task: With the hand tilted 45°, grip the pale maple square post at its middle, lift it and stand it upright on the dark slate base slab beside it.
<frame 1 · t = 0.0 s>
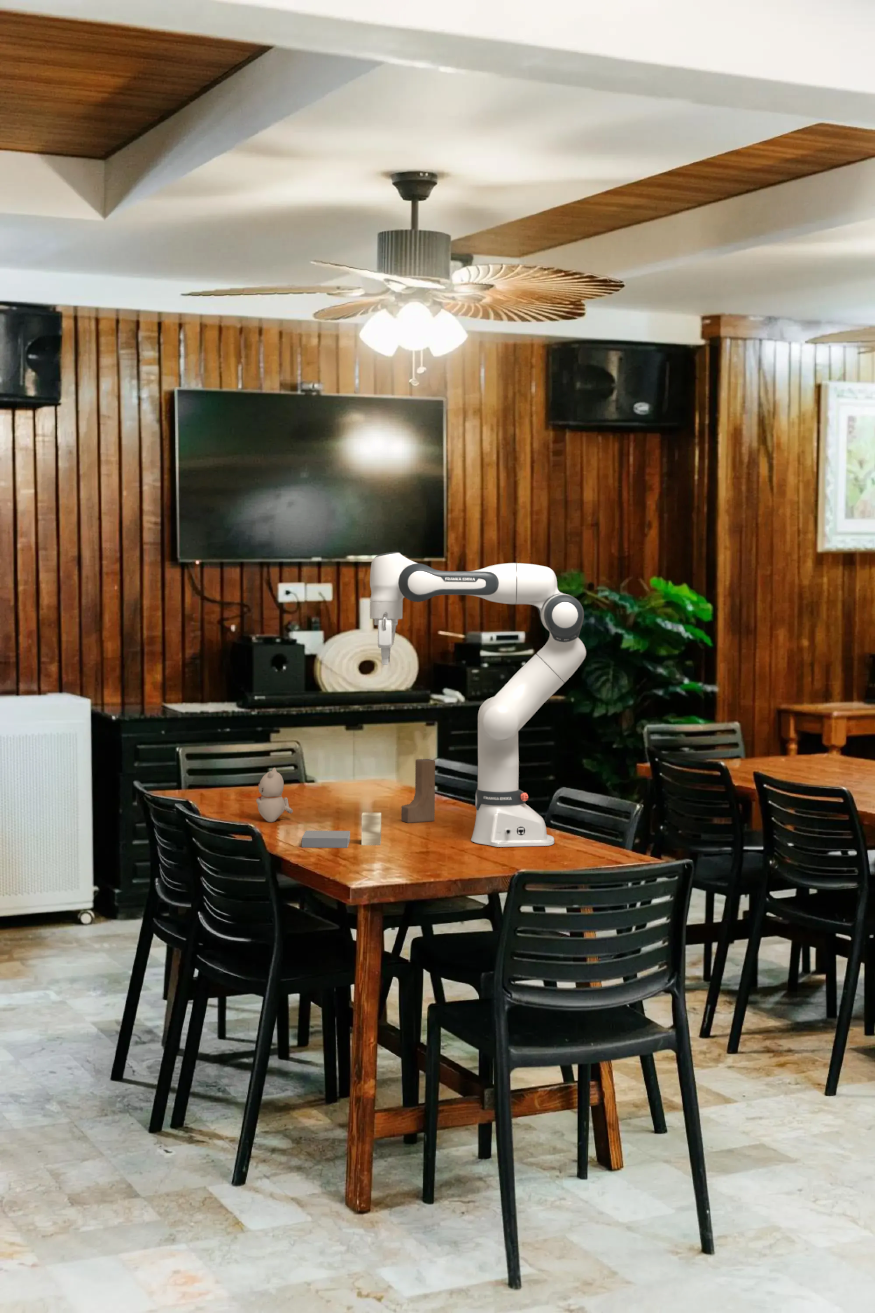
hand: (385, 663, 413), 48 cm above the table, tool pointing down, fingers open, 8 cm apart
maple post: (371, 843, 411), on the table
wooden block: (417, 821, 450), on the table
toy: (274, 820, 450), on the table
base slab: (326, 843, 410), on the table
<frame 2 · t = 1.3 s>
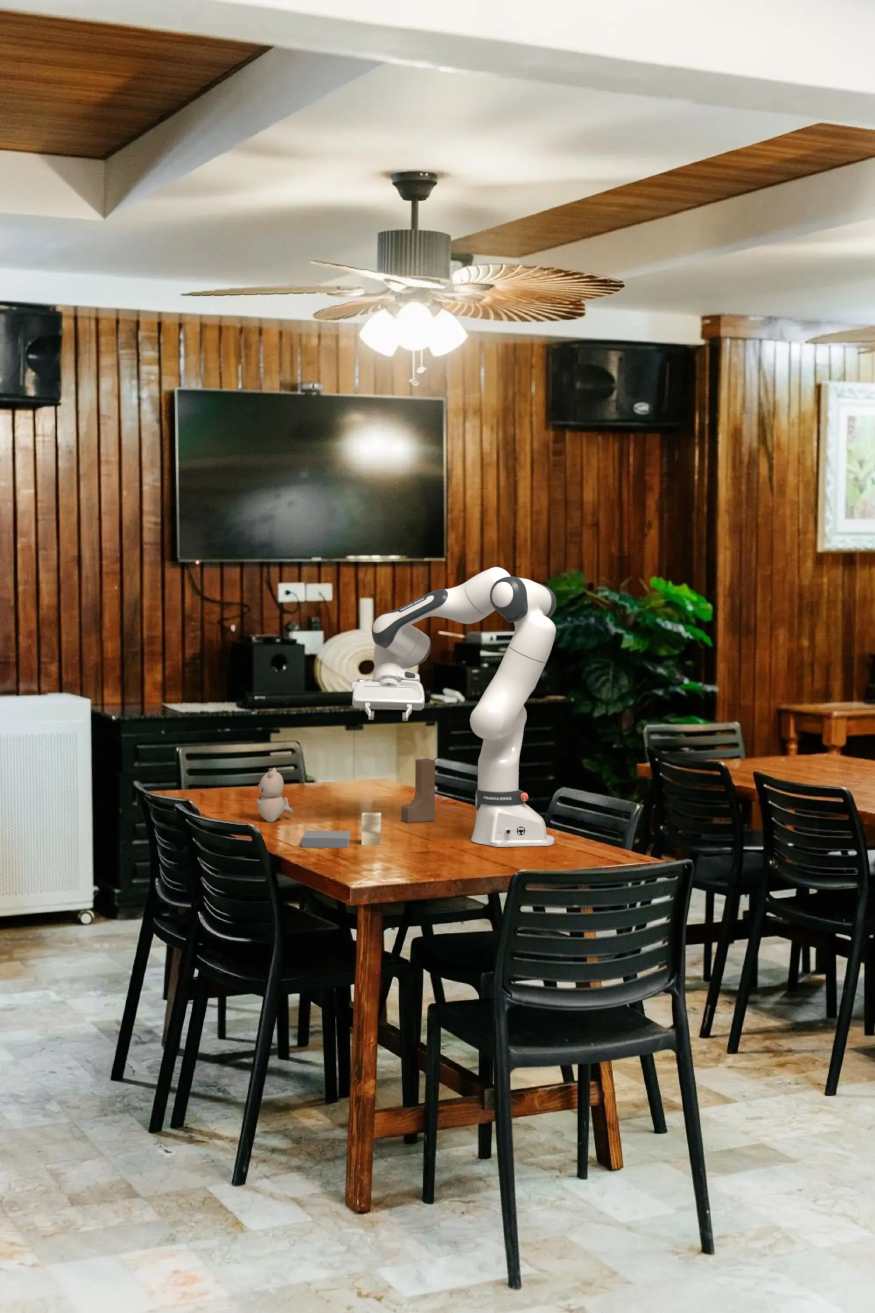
hand: (388, 718, 425), 32 cm above the table, tool tilted 45°, fingers open, 8 cm apart
nothing on the table moved.
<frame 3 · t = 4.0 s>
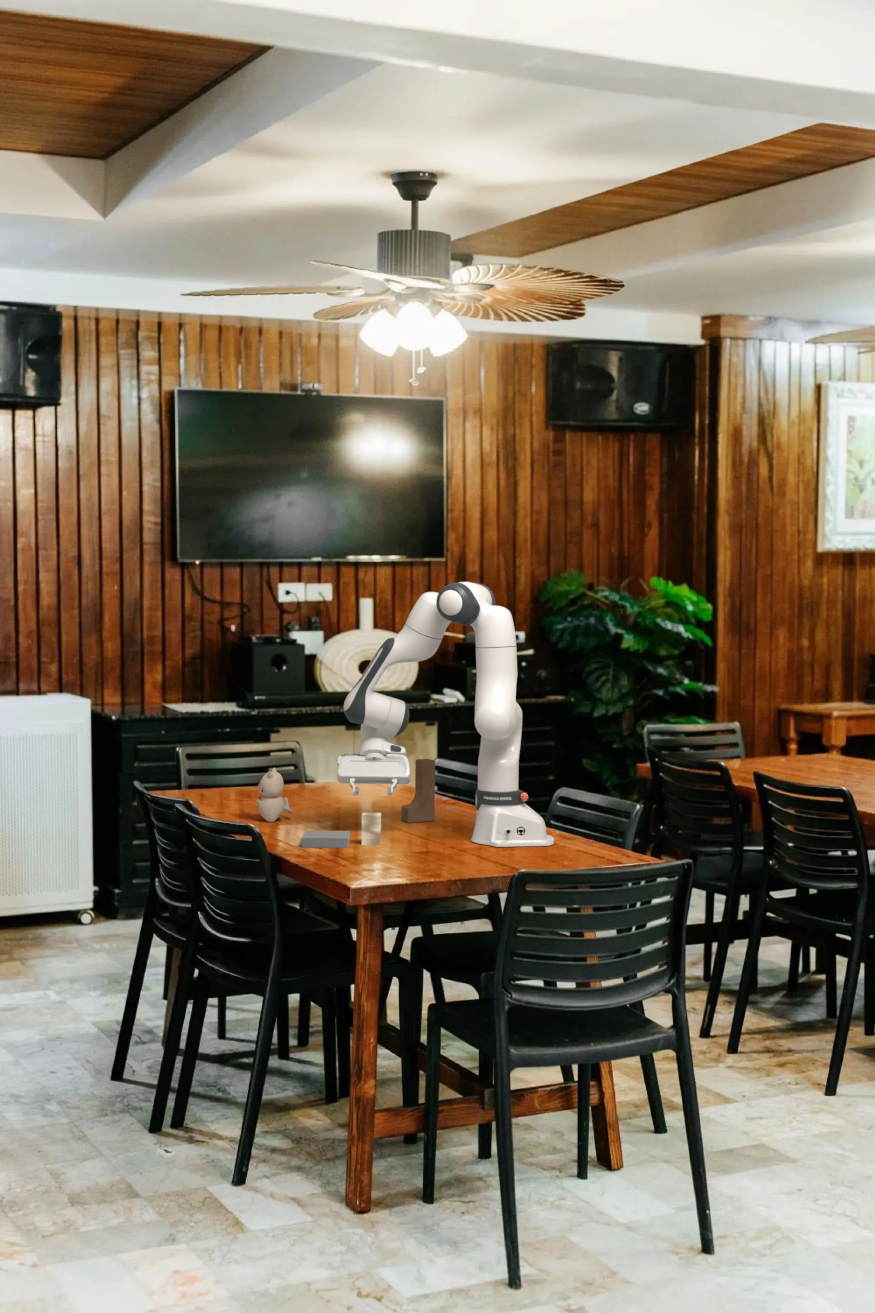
hand: (372, 794, 419), 12 cm above the table, tool tilted 45°, fingers open, 8 cm apart
nothing on the table moved.
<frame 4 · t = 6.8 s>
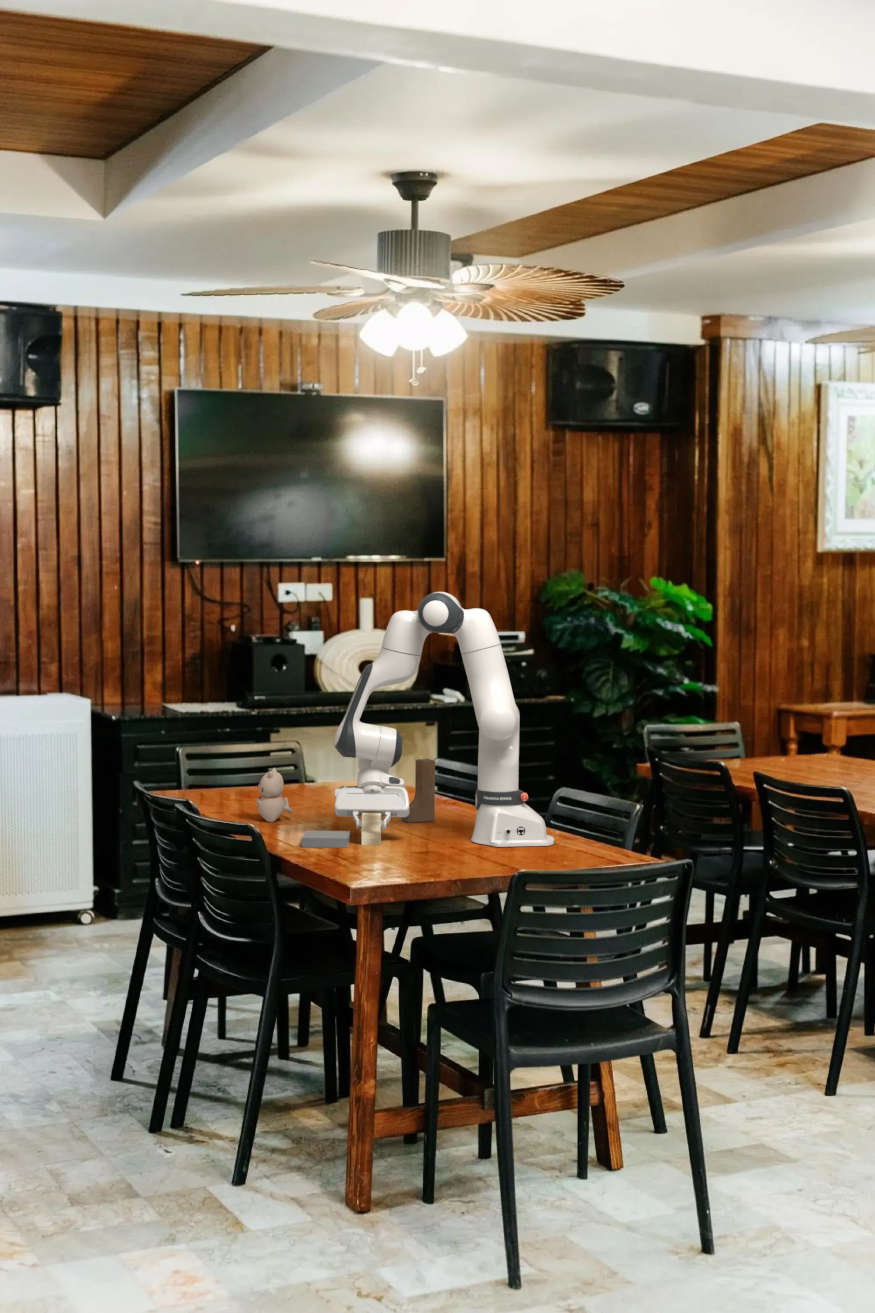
hand: (371, 827, 410), 4 cm above the table, tool tilted 45°, fingers closed on maple post, 5 cm apart
maple post: (371, 843, 411), on the table, touching gripper
everything else where it was.
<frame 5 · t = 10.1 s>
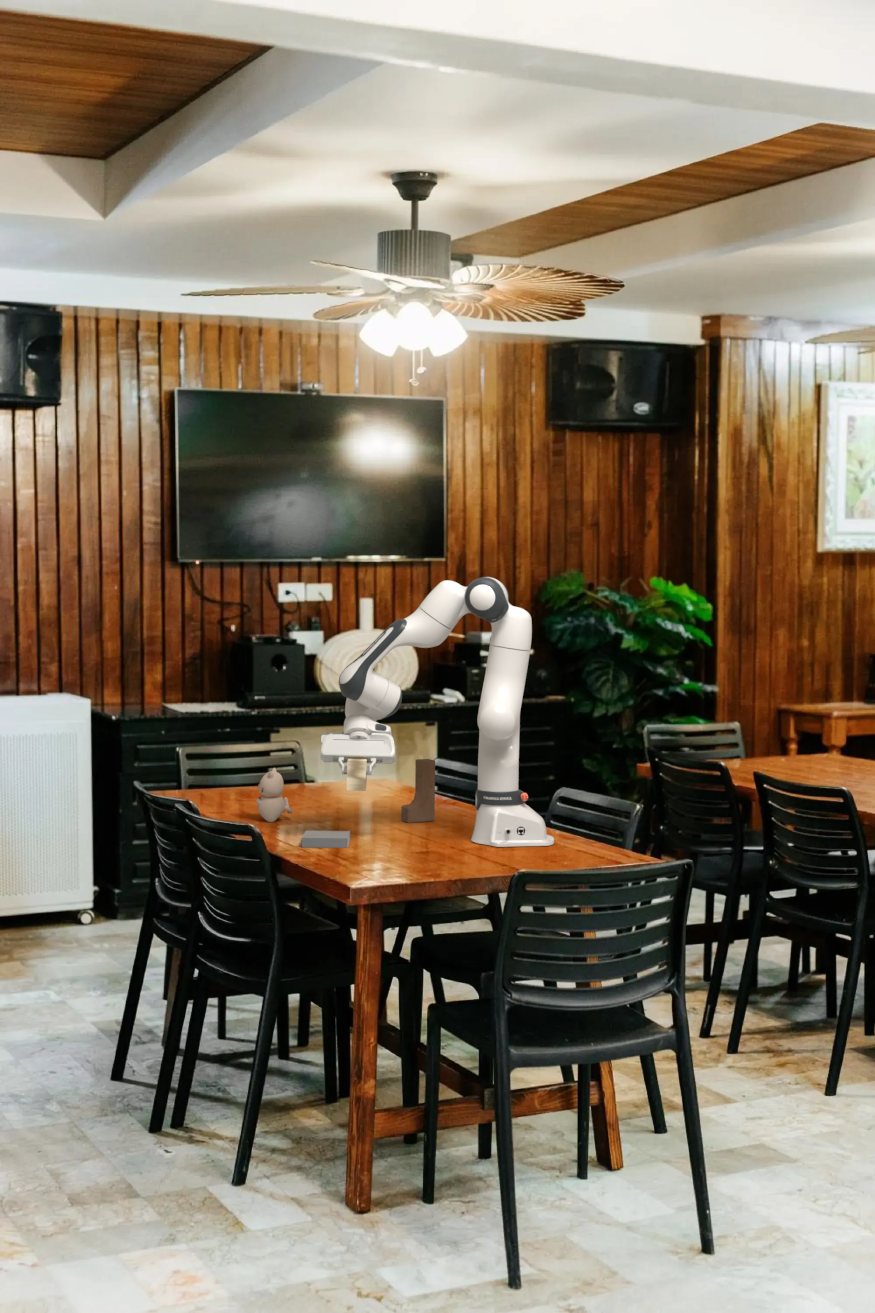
hand: (356, 773, 409), 19 cm above the table, tool tilted 45°, fingers closed on maple post, 5 cm apart
maple post: (356, 789, 410), point 15 cm above the table, touching gripper
everything else where it was.
when the fingers open (8 cm above the table, at t = 13.8 s): maple post stays where it is, resting on base slab.
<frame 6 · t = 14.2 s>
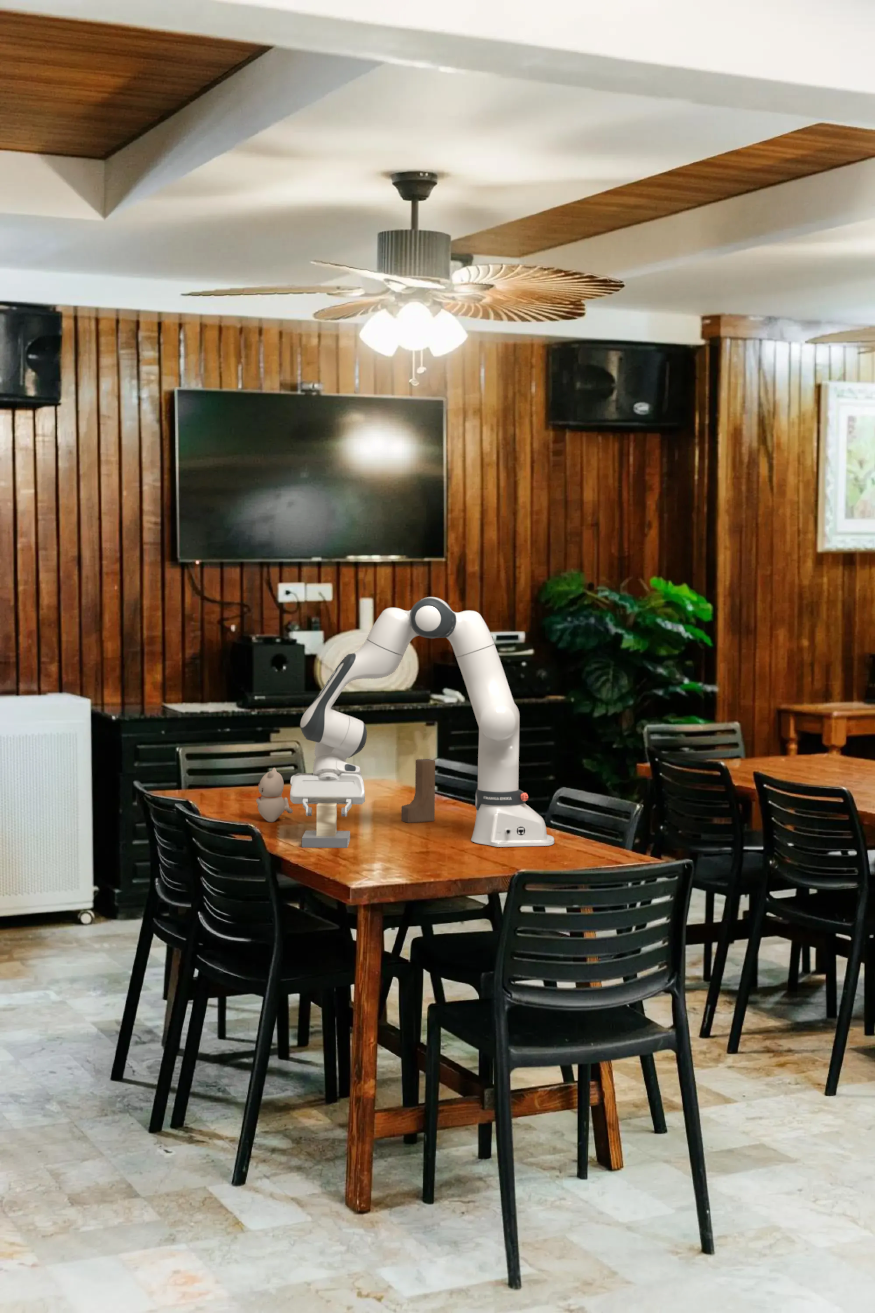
hand: (326, 814, 409), 8 cm above the table, tool tilted 45°, fingers open, 8 cm apart
maple post: (326, 834, 409), point 2 cm above the table, touching base slab
everything else where it was.
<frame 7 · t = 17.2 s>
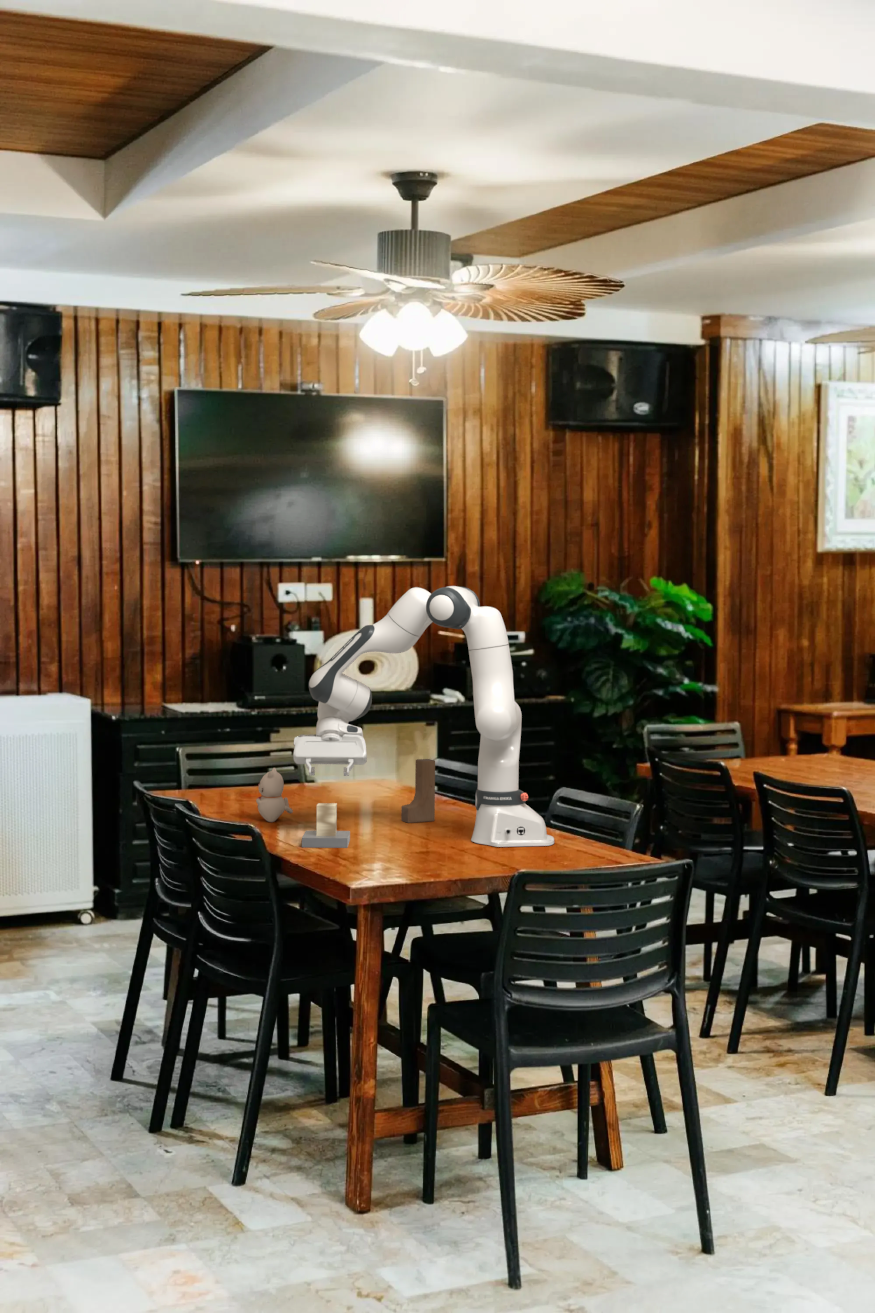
hand: (329, 774, 418), 17 cm above the table, tool tilted 45°, fingers open, 8 cm apart
nothing on the table moved.
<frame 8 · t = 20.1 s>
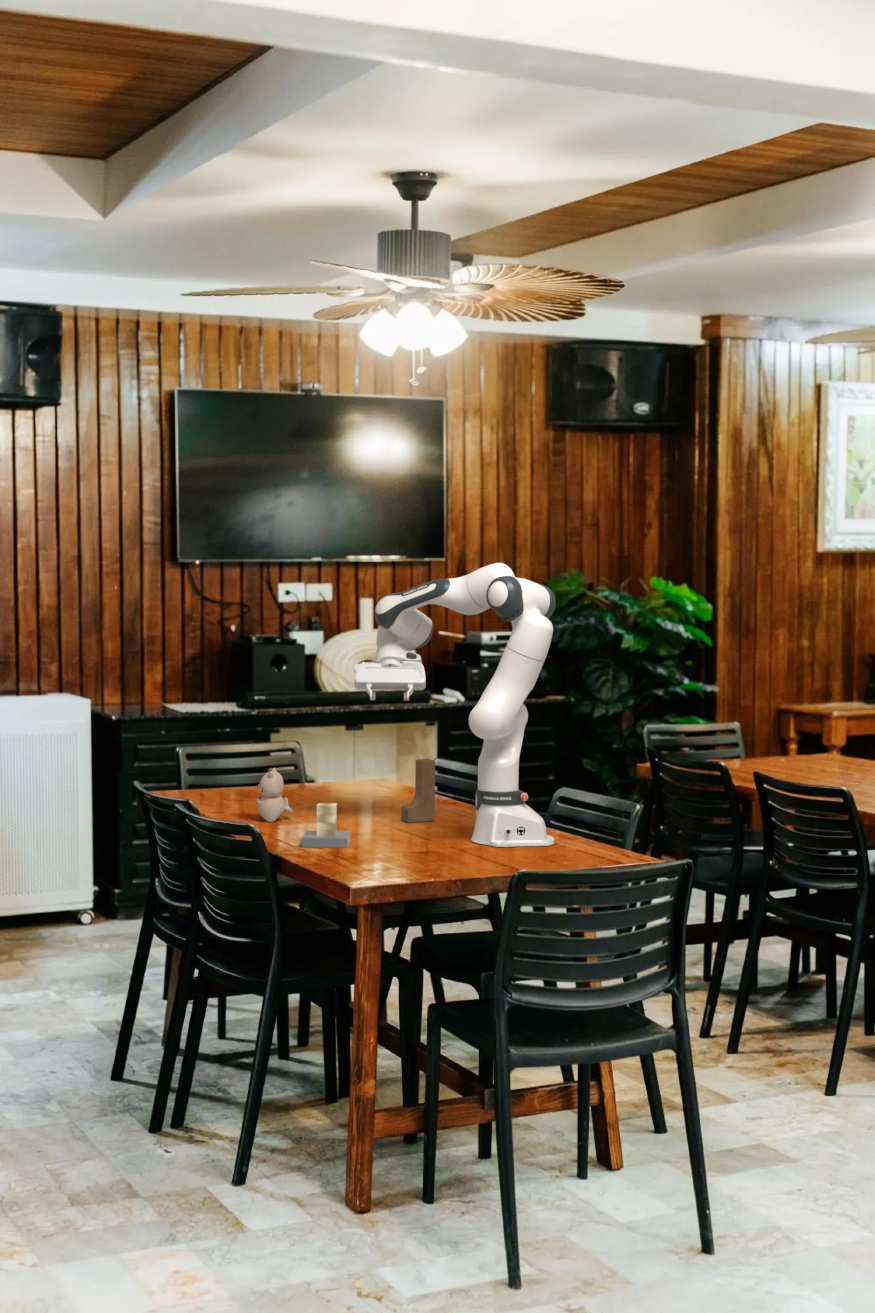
hand: (389, 699, 428), 37 cm above the table, tool tilted 45°, fingers open, 8 cm apart
nothing on the table moved.
at the end: maple post inside the target area on the base slab (0.1 cm from its centre), point 2.5 cm above the base slab's base; maple post tilted 0°; the gripper is holding nothing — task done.
